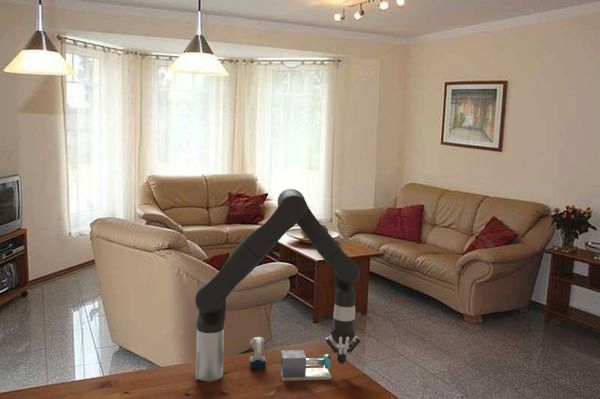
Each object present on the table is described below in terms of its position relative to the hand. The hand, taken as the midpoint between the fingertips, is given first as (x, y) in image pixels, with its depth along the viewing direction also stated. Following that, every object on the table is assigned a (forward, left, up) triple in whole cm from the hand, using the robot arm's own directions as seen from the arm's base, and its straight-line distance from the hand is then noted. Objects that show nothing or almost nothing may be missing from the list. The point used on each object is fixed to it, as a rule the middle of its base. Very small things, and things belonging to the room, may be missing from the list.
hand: (341, 363), depth 196 cm
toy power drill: (-29, +7, -5) cm, 31 cm away
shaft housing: (-13, 0, -4) cm, 14 cm away
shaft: (-11, 0, -2) cm, 11 cm away
